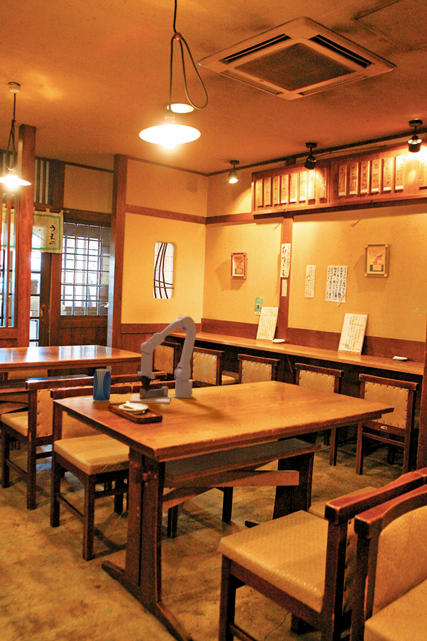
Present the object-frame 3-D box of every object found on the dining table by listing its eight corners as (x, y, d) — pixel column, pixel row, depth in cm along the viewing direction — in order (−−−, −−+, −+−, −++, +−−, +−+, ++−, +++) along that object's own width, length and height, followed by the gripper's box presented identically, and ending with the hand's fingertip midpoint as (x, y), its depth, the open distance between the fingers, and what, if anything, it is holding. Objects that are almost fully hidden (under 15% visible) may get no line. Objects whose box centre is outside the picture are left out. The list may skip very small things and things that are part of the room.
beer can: (107, 403, 248) (109, 371, 248) (90, 402, 248) (92, 370, 248) (111, 400, 257) (112, 369, 256) (95, 399, 257) (96, 368, 256)
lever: (165, 394, 271) (165, 386, 270) (169, 395, 268) (169, 387, 268) (138, 397, 259) (138, 388, 259) (141, 398, 257) (142, 389, 257)
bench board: (170, 396, 272) (170, 394, 272) (169, 403, 254) (169, 401, 254) (133, 395, 271) (133, 393, 271) (129, 402, 253) (129, 400, 253)
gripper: (132, 363, 269) (132, 388, 269) (147, 367, 258) (146, 393, 258) (144, 363, 273) (143, 387, 274) (158, 366, 262) (157, 392, 263)
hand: (145, 390), depth 266 cm, fingers closed
